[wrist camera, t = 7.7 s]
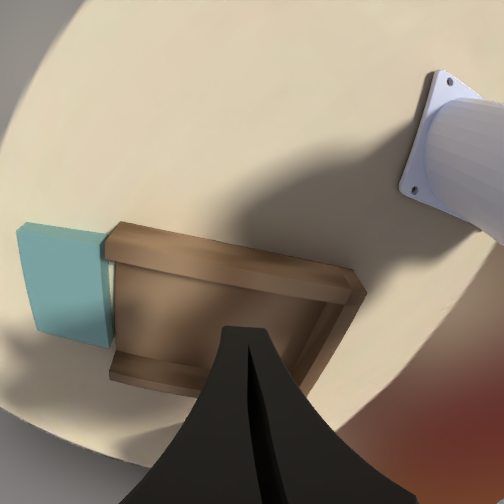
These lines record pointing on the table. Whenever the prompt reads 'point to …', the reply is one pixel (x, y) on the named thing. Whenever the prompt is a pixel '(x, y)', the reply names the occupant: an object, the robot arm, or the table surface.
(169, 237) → the walnut box
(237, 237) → the table surface
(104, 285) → the cover plate
